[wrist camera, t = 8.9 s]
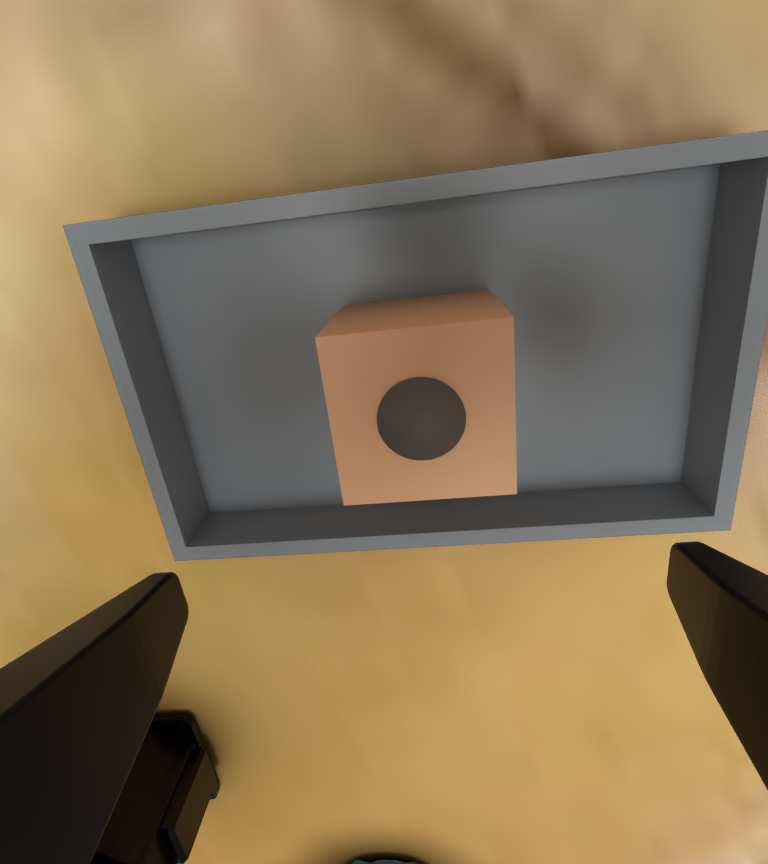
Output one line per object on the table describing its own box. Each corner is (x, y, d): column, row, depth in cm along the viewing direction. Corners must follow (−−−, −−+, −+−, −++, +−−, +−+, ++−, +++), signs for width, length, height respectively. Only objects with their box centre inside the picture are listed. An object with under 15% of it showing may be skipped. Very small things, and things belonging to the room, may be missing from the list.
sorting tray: (205, 518, 22) (175, 561, 19) (119, 223, 18) (62, 225, 15) (688, 486, 20) (730, 530, 17) (733, 141, 15) (800, 126, 13)
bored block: (362, 437, 19) (343, 506, 15) (342, 305, 18) (314, 337, 13) (493, 426, 19) (517, 494, 14) (488, 289, 17) (514, 317, 12)
